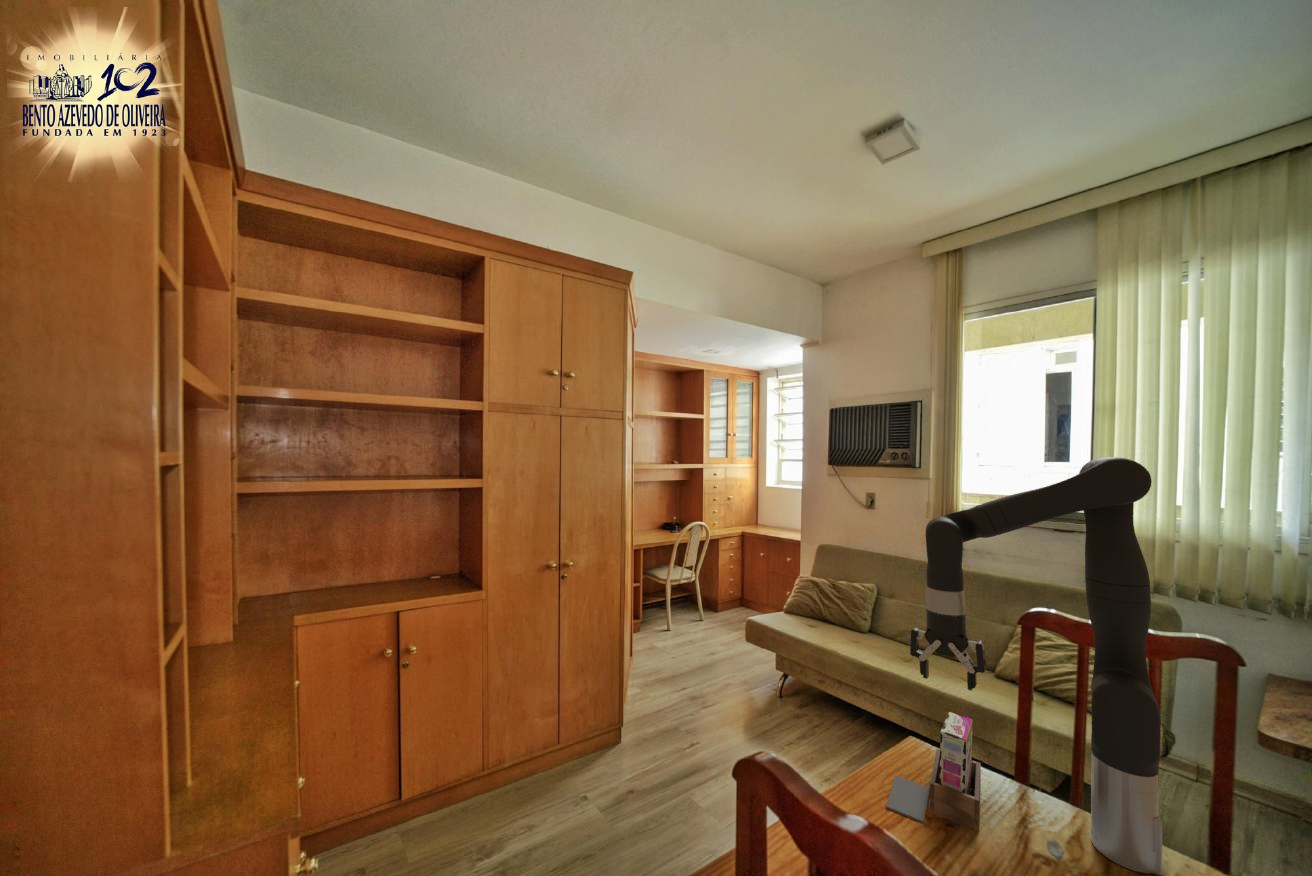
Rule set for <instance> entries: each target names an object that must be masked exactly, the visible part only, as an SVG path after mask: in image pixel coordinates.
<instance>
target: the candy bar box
mask: <svg viewBox="0 0 1312 876" xmlns="http://www.w3.org/2000/svg"><path fill="white" fill-rule="evenodd" d="M973 722H974V721H973V719H972V718H970V717H967V716H964V715H961V714H958V713H954V712H951V711H949V712H948V713H947V715H946V718H945V720H944V722H943V725H942V726H941V730H940V742H939V743H940V744H939V750H940V779H939V784H940V785H943V786H945V787H948V788H951V789H954V790H957V791H959V792H962V793H965V794H968V795H971V793H972V789H971V768H972V767H971V766H972V759H973V756H972V755H973Z"/></svg>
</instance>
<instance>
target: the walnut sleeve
mask: <svg viewBox="0 0 1312 876" xmlns="http://www.w3.org/2000/svg"><path fill="white" fill-rule="evenodd" d="M981 765H982V763H981V762H979V761H976V760H972V766H971V767H972V768H971V790H973V791H974V796H973V795H971V794H970V795H968V794H965V793H962V792H959V791H957V790H954V789H951V788H948V787H945V786H943V785H940V784H939V779H940V748H939V749H938V748H936V751H935V755H934V762H933V765H932V766H933V767H932V772H931V775H930V782H929V788H930V792H929V813H931V814H933V815H936V816H938V817H941V818H943V819H946V820H949V821H951V822H954V823H956V824H959V825H961V826H964V827H967V828H970V829H972V830H974V831H976V832H980V815H981V813H980V812H981V790H982V789H981V786H982V785H981V782H982V781H981V779H982V778H981V776H982V774H981V773H982V772H981V771H982V770H981V768H982V766H981Z"/></svg>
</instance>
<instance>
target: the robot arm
mask: <svg viewBox="0 0 1312 876" xmlns="http://www.w3.org/2000/svg"><path fill="white" fill-rule="evenodd" d="M1151 487H1152V476H1151V474H1150V472H1149V471H1148V469H1147V468H1146V467H1145V466H1143V464H1141V463H1139V462H1137V461H1135V460H1133V459H1129V458H1125V457H1120V456H1119V457H1117V456H1108V457H1107V456H1106V457H1103V456H1102V457H1098V458H1097V457H1096V458H1094V459H1092V460H1089V461H1088V462H1086V463H1085V464H1083V466H1082V467H1081V469H1080V471H1079V473H1078V474H1075V475H1074V476H1072V477H1069V478H1067V479H1065V480H1062V481H1059V482H1056V483H1053V484H1050V485H1049V484H1048V485H1047V486H1044V487H1039V488H1035V489H1031V490H1027V491H1022V492H1017V493H1013V494H1009V495H1006V496H1003V497H1000V498H996V499H993V500H990V501H987V502H986V501H985V502H984V503H981V504H978V505H975V506H973V507H971V508H969V509H964V510H960V511H955V512H951V513H947V514H943V515H940V516H938V517H935V518H933V519H931V520H930V521H929V522H928V523H927V525H926V526H925V544H926V545H925V546H926V557H927V558H926V559H927V564H926V594H925V612H926V618H925V619H926V630H921V629H920V628H919V627H917V626H915V627H914V628H913V629H911V631H910V651H909V653H910V655H911V657H915V658H917V659H918V660H919V673H920V676H922V678H923V679H925V680H927V679H928V678H929V677H930V672H929V671H930V670H929V669H930V668H929V666H930V665H929V661H930V660H929V659H928V658H929V657H930V656H931V655H932V654H933V653H934V652H935V653H936V654H937V655H938V656H939V655H940V656H947V657H948V658H950V659H951V658H952V659H954V658H957V660H958V661H959V662H960V663H961V664H962V665H963V666H964V667H965V668H966V670H967V673H966V677H967V678H966V679H967V690H968V691H973V689H976V688H977V687H976V686H977V673H981V674H983V673H985V672H986V669H987V659H986V650H985V642H984V641H983V640H980V639H979V640H977V641H976V640H969V638H968V636H967V620H966V619H967V615H966V614H967V613H966V611H967V610H966V598H965V592H964V572H963V567H962V565H963V564H962V563H963V550H964V547H963V546H964V543H966V542H970V541H972V540H975V539H979V538H983V539H986V538H993V537H997V536H1000V535H1003V534H1007V533H1010V532H1014V531H1016V530H1019V529H1020V530H1021V529H1023V528H1025V527H1029V526H1032V525H1036V524H1038V523H1041V522H1045V521H1047V520H1052V519H1054V518H1059V517H1062V516H1066V515H1070V514H1074V513H1078V512H1083V514H1084V515H1083V516H1084V521H1085V523H1084V524H1085V539H1084V540H1085V541H1084V542H1085V544H1084V573H1085V574H1084V579H1085V580H1084V581H1085V584H1084V585H1085V597H1086V604H1087V611H1088V616H1089V619H1090V624H1091V629H1092V632H1093V639H1094V660H1093V671H1092V679H1091V684H1090V694H1091V735H1090V736H1091V737H1090V746H1091V747H1090V755H1091V756H1090V762H1091V763H1090V769H1091V770H1090V776H1091V777H1090V779H1091V780H1090V789H1091V790H1090V796H1091V797H1090V798H1091V799H1090V814H1091V815H1090V818H1091V819H1090V836H1091V837H1090V840H1091V842H1092V845H1093V846H1094V847H1095V848H1096V850H1097V851H1098V852H1100V853H1101V854H1102V855H1103V856H1105V857H1106V858H1107V859H1109V860H1110V861H1112V862H1114V863H1115V864H1117V865H1119V866H1122V868H1124V869H1125V868H1126V869H1129V870H1130V871H1134V872H1137V873H1142V874H1155V875H1158V876H1160V875H1162V876H1163V822H1162V820H1161V818H1160V815H1159V764H1160V761H1161V730H1162V728H1161V712H1160V711H1161V710H1160V708H1159V704H1158V702H1157V700H1156V696H1155V694H1154V691H1153V687H1152V684H1151V680H1150V679H1151V678H1150V676H1149V670H1148V669H1149V668H1148V662H1147V657H1146V656H1147V654H1146V645H1147V638H1148V633H1149V629H1150V625H1151V624H1150V622H1151V614H1152V613H1151V612H1152V598H1151V596H1152V595H1151V581H1150V575H1149V570H1148V566H1147V563H1146V560H1145V557H1144V556H1145V555H1144V553H1143V551H1142V549H1141V546H1140V544H1139V543H1140V542H1139V540H1138V538H1137V536H1136V535H1137V534H1136V532H1135V531H1136V530H1135V526H1134V525H1135V524H1134V506H1135V505H1134V503H1136V502H1137V501H1140V500H1141V499H1143V498H1144V497H1145V496H1146V495H1147V494H1148V493H1149V491H1150V490H1151ZM923 637H924V638H925V639H926V641H927V642H928V644H929V645H928V647H926V649H925V650H923V651H921V650H919V649H920V641H921V640H922V638H923ZM968 647H970V648H971V650H972V652H973V653H976V654H975V655H976V662H977V663H976V664H975V663H974V661H973V660H972V659H971V656H970V655H969V654H968V652H967V651H966V649H967V648H968Z"/></svg>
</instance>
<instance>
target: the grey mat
mask: <svg viewBox="0 0 1312 876" xmlns="http://www.w3.org/2000/svg"><path fill="white" fill-rule="evenodd" d="M929 798H930V787H927V786H925V785H923V784H920V783H917V782H914V781H912V780H908V779H907V778H904V777H901V776H898V775H894V779H893V782H892V786H891V788H890V791H889V795H888V798H887V802H886V805H885V808H886V809H887V810H891V811H892V812H896V813H897V814H900V815H903V816H905V817H906V818H910V819H913V820H915V821H918V822H920V823H922V824H924V823H925V817H926V813H927V809H928V801H929Z"/></svg>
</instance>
